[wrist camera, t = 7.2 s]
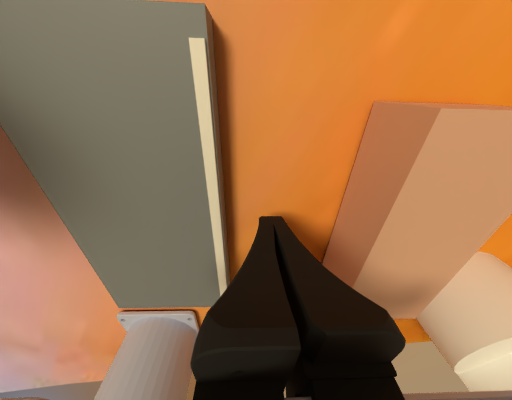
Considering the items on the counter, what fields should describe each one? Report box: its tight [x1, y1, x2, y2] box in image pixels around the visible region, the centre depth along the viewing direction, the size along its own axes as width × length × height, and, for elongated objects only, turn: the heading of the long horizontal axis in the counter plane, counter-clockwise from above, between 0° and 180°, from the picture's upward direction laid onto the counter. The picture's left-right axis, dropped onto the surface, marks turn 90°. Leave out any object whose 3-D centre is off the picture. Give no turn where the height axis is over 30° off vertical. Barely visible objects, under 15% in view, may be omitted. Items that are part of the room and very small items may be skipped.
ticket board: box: [0, 0, 230, 308], centre depth 12 cm, size 20×10×2 cm, turn 178°
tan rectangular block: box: [322, 101, 512, 319], centre depth 12 cm, size 14×6×4 cm, turn 178°
